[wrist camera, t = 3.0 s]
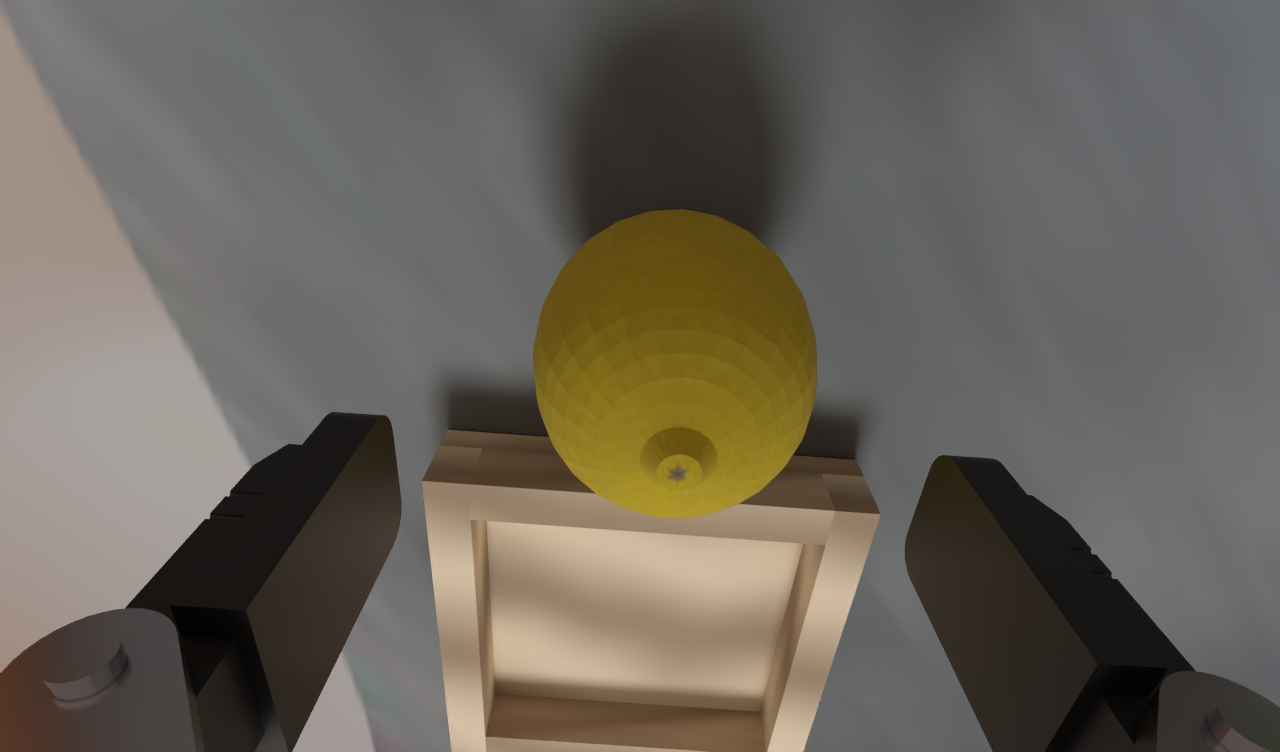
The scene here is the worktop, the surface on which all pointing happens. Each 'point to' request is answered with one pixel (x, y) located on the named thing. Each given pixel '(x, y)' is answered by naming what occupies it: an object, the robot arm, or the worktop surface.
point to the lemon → (675, 364)
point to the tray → (635, 604)
